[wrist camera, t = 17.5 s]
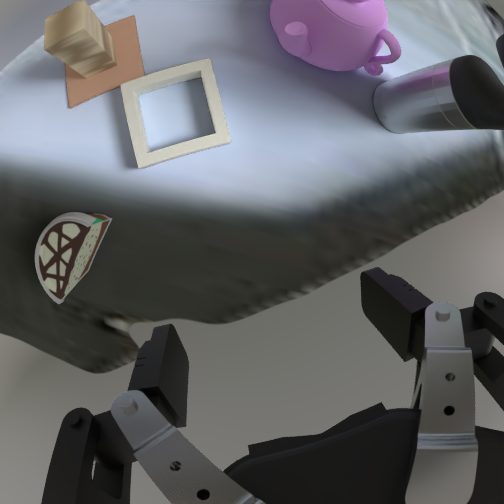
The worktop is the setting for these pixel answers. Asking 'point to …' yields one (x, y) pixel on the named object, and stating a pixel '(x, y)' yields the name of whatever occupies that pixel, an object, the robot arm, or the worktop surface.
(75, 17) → the beech block
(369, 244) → the worktop surface
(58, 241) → the cream brown half-disc piece
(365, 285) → the robot arm
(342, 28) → the teapot
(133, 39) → the mat
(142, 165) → the collar frame
